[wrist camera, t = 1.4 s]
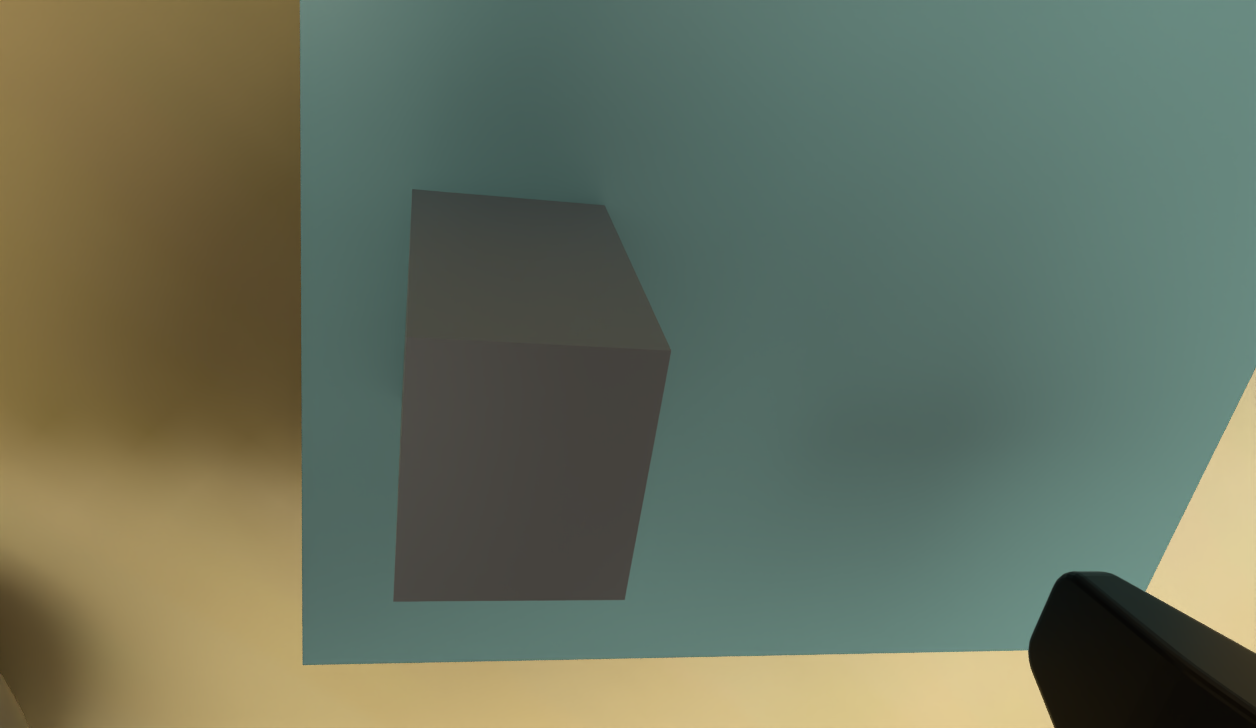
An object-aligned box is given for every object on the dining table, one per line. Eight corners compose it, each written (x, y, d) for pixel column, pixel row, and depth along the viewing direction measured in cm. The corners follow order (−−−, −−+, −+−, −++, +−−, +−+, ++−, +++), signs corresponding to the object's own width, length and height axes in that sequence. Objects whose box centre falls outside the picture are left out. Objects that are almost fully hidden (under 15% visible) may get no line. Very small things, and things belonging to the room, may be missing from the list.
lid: (1351, -90, 15) (1857, -40, 9) (1058, 578, 20) (1274, 836, 15) (318, -279, 11) (227, -358, 6) (315, 580, 17) (266, 910, 12)
